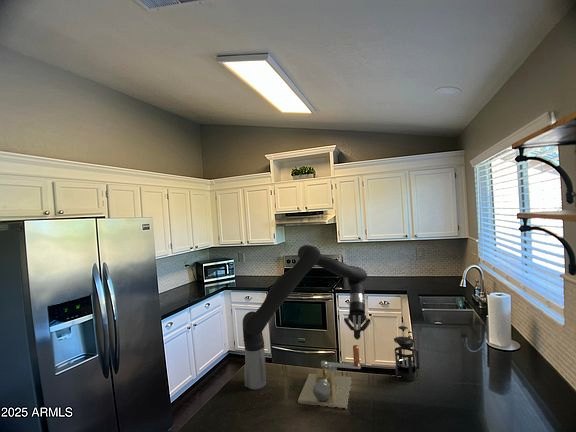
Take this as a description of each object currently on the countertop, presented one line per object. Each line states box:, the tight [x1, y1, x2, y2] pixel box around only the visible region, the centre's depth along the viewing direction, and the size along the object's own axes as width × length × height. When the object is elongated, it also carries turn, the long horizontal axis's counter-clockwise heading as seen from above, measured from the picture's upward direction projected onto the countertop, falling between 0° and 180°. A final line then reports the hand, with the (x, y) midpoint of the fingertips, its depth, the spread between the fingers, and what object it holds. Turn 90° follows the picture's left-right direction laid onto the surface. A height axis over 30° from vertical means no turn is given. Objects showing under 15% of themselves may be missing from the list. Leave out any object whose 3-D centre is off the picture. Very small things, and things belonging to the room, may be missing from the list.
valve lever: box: [320, 344, 362, 370], centre depth 130 cm, size 17×3×9 cm, turn 74°
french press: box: [393, 325, 420, 382], centre depth 143 cm, size 12×9×23 cm
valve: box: [297, 366, 352, 410], centre depth 134 cm, size 20×22×12 cm
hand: (357, 338), depth 139 cm, fingers closed
